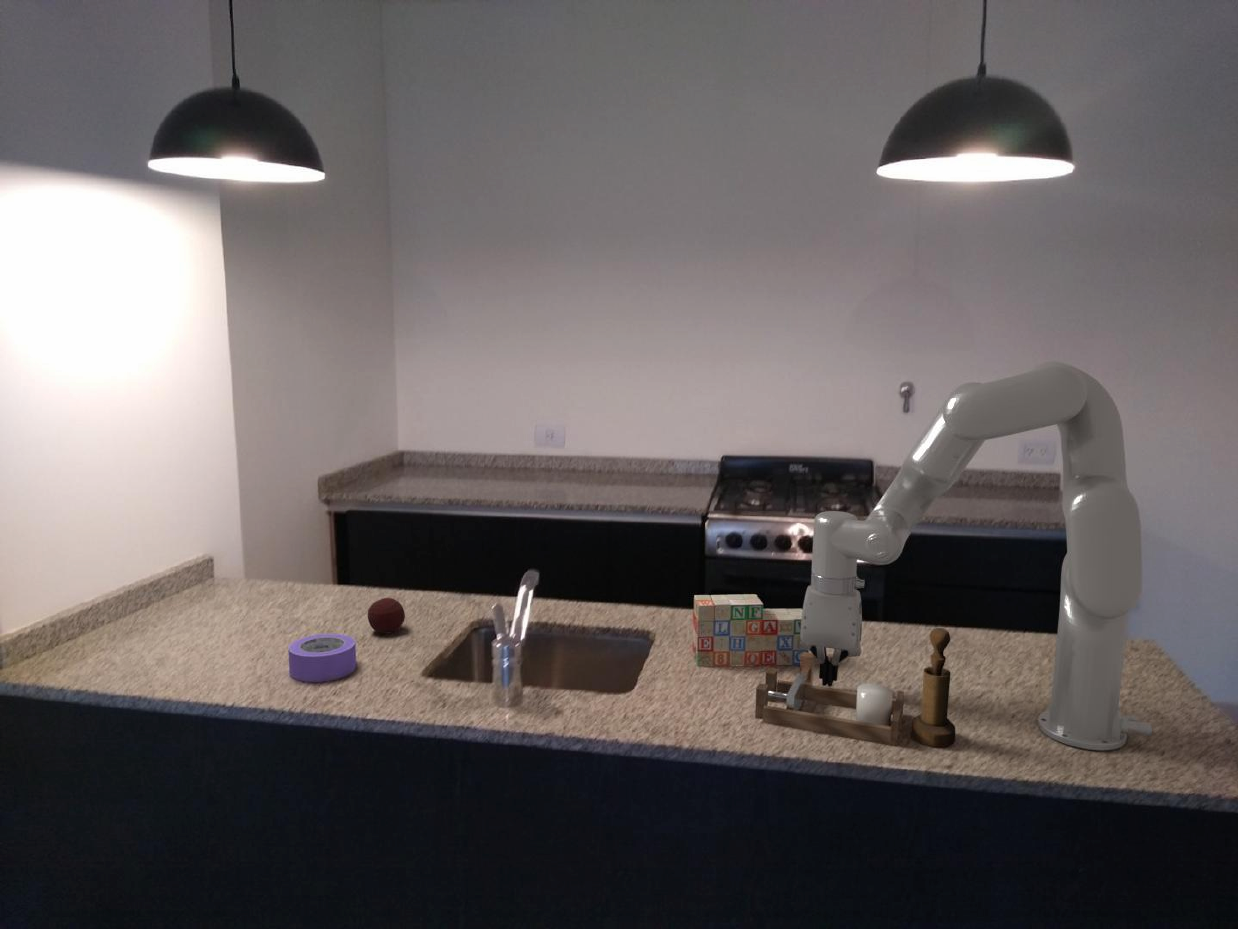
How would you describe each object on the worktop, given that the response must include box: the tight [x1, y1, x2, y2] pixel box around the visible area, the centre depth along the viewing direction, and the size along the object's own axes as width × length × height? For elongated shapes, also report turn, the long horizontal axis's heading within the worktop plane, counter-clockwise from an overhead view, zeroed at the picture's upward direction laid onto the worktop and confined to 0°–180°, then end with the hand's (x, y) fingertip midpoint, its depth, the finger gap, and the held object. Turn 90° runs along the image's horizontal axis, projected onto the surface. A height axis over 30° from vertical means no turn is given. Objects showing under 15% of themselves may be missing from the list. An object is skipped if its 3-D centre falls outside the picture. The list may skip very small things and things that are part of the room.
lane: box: [754, 667, 905, 747], centre depth 148 cm, size 22×12×5 cm, turn 68°
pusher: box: [768, 652, 815, 711], centre depth 154 cm, size 7×16×6 cm, turn 158°
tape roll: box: [287, 633, 357, 683], centre depth 166 cm, size 12×12×5 cm
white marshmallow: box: [855, 682, 894, 727], centre depth 145 cm, size 6×6×6 cm
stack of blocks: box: [692, 593, 810, 667], centre depth 171 cm, size 21×6×12 cm, turn 93°
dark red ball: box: [367, 597, 406, 634], centre depth 185 cm, size 7×8×7 cm
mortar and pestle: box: [910, 627, 956, 748], centre depth 140 cm, size 7×6×18 cm
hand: (827, 683), depth 158 cm, fingers closed
